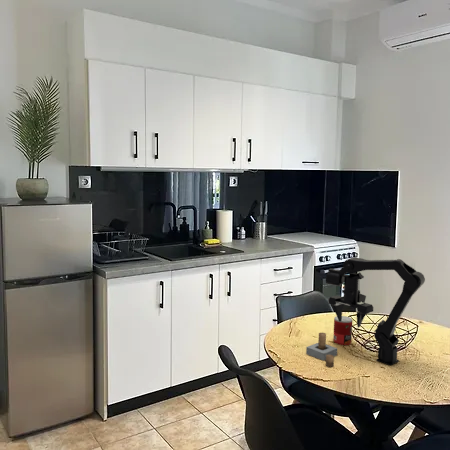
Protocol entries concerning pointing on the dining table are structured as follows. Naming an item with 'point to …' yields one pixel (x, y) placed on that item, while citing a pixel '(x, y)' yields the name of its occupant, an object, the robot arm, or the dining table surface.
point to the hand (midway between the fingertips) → (349, 324)
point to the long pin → (322, 341)
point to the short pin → (329, 360)
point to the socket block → (321, 351)
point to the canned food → (342, 331)
